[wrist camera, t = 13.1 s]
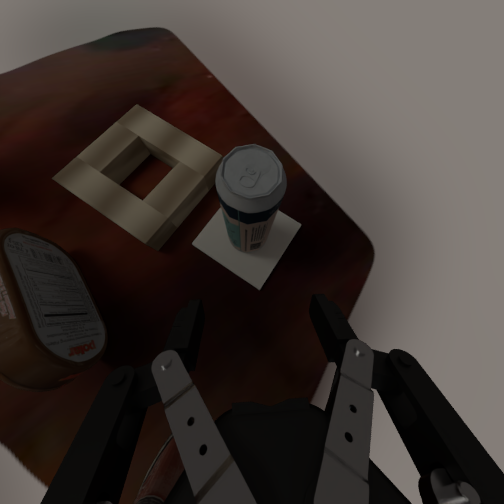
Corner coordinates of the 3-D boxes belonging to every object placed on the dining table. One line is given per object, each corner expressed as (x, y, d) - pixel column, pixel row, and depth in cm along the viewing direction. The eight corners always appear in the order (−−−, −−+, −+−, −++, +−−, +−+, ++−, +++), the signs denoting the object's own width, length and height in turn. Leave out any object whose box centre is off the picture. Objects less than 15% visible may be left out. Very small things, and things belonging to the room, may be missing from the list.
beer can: (272, 226, 23) (300, 154, 12) (258, 259, 22) (274, 216, 10) (238, 212, 24) (232, 128, 12) (222, 244, 22) (199, 186, 11)
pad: (192, 244, 23) (191, 243, 22) (238, 187, 25) (238, 185, 25) (259, 290, 22) (259, 290, 21) (300, 226, 24) (301, 224, 24)
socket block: (75, 193, 24) (51, 178, 21) (148, 125, 27) (136, 104, 24) (158, 251, 22) (145, 243, 19) (224, 171, 26) (222, 155, 23)
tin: (47, 253, 22) (-70, 227, 14) (73, 240, 22) (-24, 206, 14) (98, 370, 19) (-12, 423, 11) (126, 351, 20) (42, 388, 11)
